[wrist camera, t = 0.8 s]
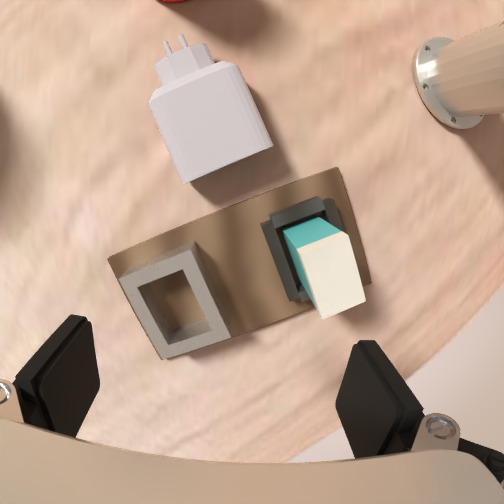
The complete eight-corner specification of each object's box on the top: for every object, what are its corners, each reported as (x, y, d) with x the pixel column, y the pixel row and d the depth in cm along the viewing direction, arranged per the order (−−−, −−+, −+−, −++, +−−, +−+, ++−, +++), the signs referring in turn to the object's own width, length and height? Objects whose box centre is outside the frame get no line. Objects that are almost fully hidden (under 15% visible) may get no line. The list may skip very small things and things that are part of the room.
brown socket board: (335, 167, 34) (344, 167, 31) (368, 280, 37) (378, 288, 35) (110, 256, 35) (100, 264, 32) (162, 355, 38) (158, 369, 36)
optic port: (194, 241, 34) (190, 249, 31) (230, 322, 37) (231, 337, 33) (128, 268, 34) (118, 278, 31) (167, 343, 37) (162, 359, 34)
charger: (215, 30, 29) (269, 148, 33) (138, 64, 30) (188, 182, 34) (213, 12, 25) (275, 145, 28) (125, 51, 25) (181, 185, 29)
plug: (316, 214, 34) (348, 235, 24) (332, 265, 36) (366, 301, 26) (280, 228, 34) (300, 254, 24) (298, 278, 36) (322, 319, 26)
